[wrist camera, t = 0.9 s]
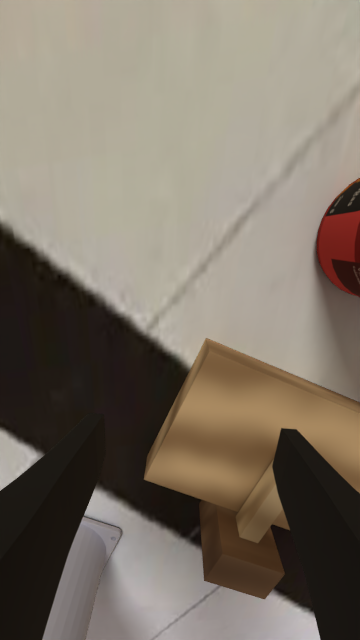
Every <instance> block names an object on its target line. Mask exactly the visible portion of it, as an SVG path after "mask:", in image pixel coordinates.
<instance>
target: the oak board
mask: <svg viewBox="0 0 360 640" xmlns="http://www.w3.org/2000/svg"><path fill="white" fill-rule="evenodd" d="M281 428H286V429H297V430H298V431H299V432H300V433H301V434H302V435H303V437H304V438H305V439H306V440H307V441H308V442H309V443H310V444H311V445H312V446H313V447H314V448H315V449H316V450H317V451H318V452H319V454H320V455H321V456H322V457H323V458H324V459H325V460H326V461H327V462H328V463H329V464H330V465H331V466H332V467H333V468H334V469H335V470H336V471H337V472H338V473H339V474H340V475H341V476H342V477H343V478H344V479H345V480H346V481H347V482H348V483H349V484H350V485H351V486H352V487H353V488H354V489H355V490H356V491H358V492H359V493H360V403H359V402H357V401H354V400H352V399H350V398H347V397H345V396H343V395H340V394H338V393H336V392H333V391H331V390H328V389H326V388H324V387H321V386H319V385H317V384H314V383H312V382H309V381H307V380H305V379H302V378H300V377H298V376H295V375H293V374H290V373H288V372H286V371H283V370H281V369H279V368H276V367H274V366H271V365H269V364H267V363H264V362H262V361H260V360H257V359H255V358H252V357H250V356H248V355H245V354H243V353H241V352H238V351H236V350H233V349H231V348H229V347H226V346H224V345H222V344H219V343H217V342H214V341H212V340H210V339H207V338H206V340H205V342H204V344H203V346H202V348H201V350H200V352H199V354H198V356H197V358H196V360H195V362H194V364H193V366H192V368H191V370H190V372H189V374H188V376H187V378H186V380H185V382H184V384H183V386H182V388H181V390H180V392H179V394H178V396H177V398H176V400H175V402H174V404H173V406H172V408H171V410H170V412H169V414H168V416H167V418H166V420H165V422H164V424H163V426H162V428H161V430H160V432H159V434H158V436H157V438H156V440H155V442H154V444H153V446H152V448H151V450H150V452H149V454H148V456H147V463H146V469H145V476H144V480H147V481H150V482H153V483H156V484H158V485H161V486H164V487H167V488H170V489H173V490H176V491H179V492H181V493H184V494H187V495H190V496H193V497H196V498H199V499H202V500H204V501H207V502H210V503H213V504H216V505H219V506H222V507H225V508H227V509H230V510H233V511H236V512H239V511H240V509H241V508H242V506H243V505H244V503H245V502H246V500H247V499H248V497H249V496H250V494H251V493H252V491H253V490H254V488H255V487H256V485H257V484H258V482H259V481H260V479H261V478H262V476H263V474H264V473H265V471H266V470H267V468H268V467H269V465H270V464H271V462H272V461H273V459H274V456H275V452H276V448H277V444H278V440H279V435H280V431H281ZM272 524H273V525H276V526H279V527H282V528H285V529H288V530H290V528H289V525H288V522H287V519H286V516H285V513H284V510H283V509H282V511H281V512H280V514H279V515H278V516H277V518H276V519H275V520H274V522H273V523H272Z"/></svg>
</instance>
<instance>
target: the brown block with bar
mask: <svg viewBox="0 0 360 640" xmlns="http://www.w3.org/2000/svg"><path fill="white" fill-rule="evenodd" d="M273 461H274V459H273ZM273 461H272V462H271V464H270V465H269V467H268V468H267V470H266V471H265V473H264V474H263V476H262V478H261V479H260V481H259V482H258V484H257V485H256V487H255V488H254V490H253V491H252V493H251V494H250V496H249V497H248V499H247V500H246V502H245V503H244V505H243V506H242V508H241V509H240V511H239V512H236V511H233V510H230V509H227V508H225V507H222V506H219V505H216V504H213V503H210V502H207V501H204V500H201V502H200V503H199V511H200V526H201V541H202V555H203V570H204V581H207V582H210V583H214V584H217V585H220V586H223V587H226V588H230V589H233V590H236V591H239V592H243V593H246V594H249V595H252V596H255V597H259V598H262V599H265V598H266V597H267V596H268V595H269V593H270V592H271V591H272V590H273V588H274V587H275V586H276V584H277V583H278V582H279V581H280V579H281V578H282V577H283V576H284V574H285V573H284V570H283V566H282V563H281V560H280V557H279V554H278V550H277V547H276V544H275V541H274V537H273V534H272V531H271V528H270V526H271V525H272V523H273V522H274V520H275V519H276V518H277V516H278V515H279V514H280V512H281V511H282V509H283V507H282V504H281V501H280V498H279V495H278V491H277V487H276V483H275V478H274V473H273V468H272V465H273Z"/></svg>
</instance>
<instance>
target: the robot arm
mask: <svg viewBox="0 0 360 640" xmlns="http://www.w3.org/2000/svg"><path fill="white" fill-rule="evenodd" d="M105 453H106V450H105V428H104V414H93V413H89V414H88V415H86V416H85V417H84V418H83V419H82V420H81V421H80V422H79V423H78V424H77V425H76V426H75V427H74V428H73V429H72V430H71V431H70V432H69V433H68V434H67V435H66V436H65V437H64V438H63V439H62V440H61V441H60V442H59V443H57V444H56V445H55V446H54V447H53V448H52V449H51V450H50V451H49V452H48V453H47V454H45V455H44V456H43V457H42V458H41V459H40V460H38V461H37V462H36V463H35V464H34V465H33V466H31V467H30V468H29V469H28V470H27V471H25V472H24V473H23V474H22V475H20V476H19V477H18V478H17V479H15V480H14V481H13V482H11V483H10V484H9V485H7V486H6V487H5V488H3V489H2V490H1V491H0V640H85V639H86V635H87V631H88V626H89V622H90V618H91V614H92V610H93V605H94V601H95V597H96V593H97V589H98V585H99V580H100V576H101V573H102V571H103V569H104V567H105V565H106V563H107V561H108V559H109V557H110V555H111V553H112V551H113V549H114V547H115V546H116V544H117V542H118V540H119V538H120V535H121V530H120V529H119V528H117V527H114V526H110V525H107V524H104V523H101V522H98V521H95V520H92V519H89V518H86V517H83V516H84V513H85V511H86V509H87V506H88V504H89V501H90V499H91V496H92V494H93V491H94V489H95V486H96V484H97V481H98V478H99V475H100V471H101V468H102V464H103V461H104V457H105ZM272 468H273V473H274V478H275V483H276V487H277V491H278V495H279V498H280V501H281V504H282V507H283V510H284V513H285V516H286V519H287V522H288V525H289V528H290V531H291V534H292V537H293V540H294V543H295V546H296V549H297V552H298V555H299V558H300V561H301V564H302V567H303V571H304V574H305V577H306V581H307V585H308V589H309V593H310V597H311V601H312V605H313V609H314V613H315V617H316V622H317V626H318V630H319V635H320V639H321V640H360V493H359V492H358V491H356V490H355V489H354V488H353V487H352V486H351V485H350V484H349V483H348V482H347V481H346V480H345V479H344V478H343V477H342V476H341V475H340V474H339V473H338V472H337V471H336V470H335V469H334V468H333V467H332V466H331V465H330V464H329V463H328V462H327V461H326V460H325V459H324V458H323V457H322V456H321V455H320V454H319V452H318V451H317V450H316V449H315V448H314V447H313V446H312V445H311V444H310V443H309V442H308V441H307V440H306V439H305V438H304V437H303V435H302V434H301V433H300V432H299V431H298V430H297V429H286V428H281V431H280V435H279V440H278V444H277V448H276V452H275V456H274V461H273V465H272Z"/></svg>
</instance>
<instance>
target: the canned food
mask: <svg viewBox="0 0 360 640" xmlns="http://www.w3.org/2000/svg"><path fill="white" fill-rule="evenodd" d="M317 255H318V259H319V263H320V265H321V267H322V269H323V271H324V273H325V274H326V275H327V277H328V278H329V279H330V280H331V282H332V283H333V284H334V285H336V286H337V287H338V288H339V289H341V290H343V291H345V292H347V293H349V294H352V295H355V296H358V297H360V178H359V179H357V180H356V181H354V182H353V183H351V184H350V185H349V186H348V187H347V188H346V189H345V190H343V191H342V192H341V193H340V194H339V195H338V196H337V197H336V198H335V199H334V201H333V202H332V203H331V205H330V206H329V207H328V209H327V211H326V213H325V215H324V216H323V218H322V221H321V224H320V227H319V230H318V236H317Z"/></svg>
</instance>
